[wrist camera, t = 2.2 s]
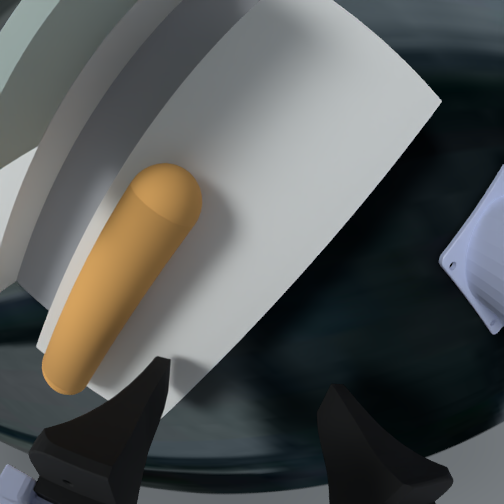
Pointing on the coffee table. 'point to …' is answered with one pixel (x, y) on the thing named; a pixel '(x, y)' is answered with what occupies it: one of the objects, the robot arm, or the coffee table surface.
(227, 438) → the coffee table surface
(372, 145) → the board
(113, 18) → the cover
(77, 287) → the orange rounded rod
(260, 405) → the coffee table surface
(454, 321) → the coffee table surface
